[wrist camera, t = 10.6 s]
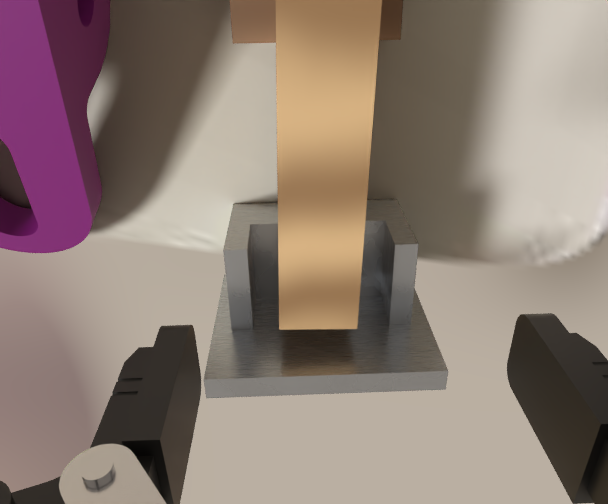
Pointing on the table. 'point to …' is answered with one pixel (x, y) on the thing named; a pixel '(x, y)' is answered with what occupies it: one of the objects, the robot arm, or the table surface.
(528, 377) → the robot arm
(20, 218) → the mounting bracket
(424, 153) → the table surface
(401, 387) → the bracket
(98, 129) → the table surface
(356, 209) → the rail
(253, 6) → the rest block
